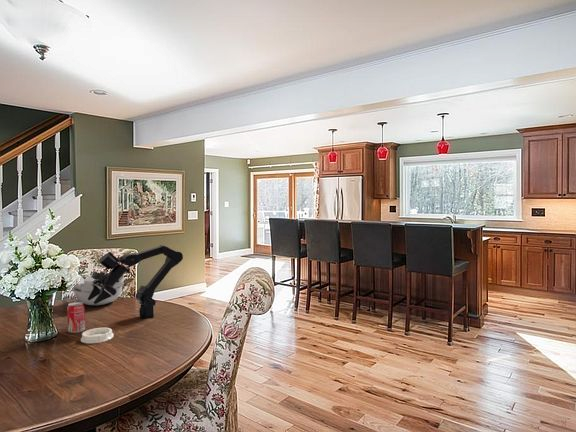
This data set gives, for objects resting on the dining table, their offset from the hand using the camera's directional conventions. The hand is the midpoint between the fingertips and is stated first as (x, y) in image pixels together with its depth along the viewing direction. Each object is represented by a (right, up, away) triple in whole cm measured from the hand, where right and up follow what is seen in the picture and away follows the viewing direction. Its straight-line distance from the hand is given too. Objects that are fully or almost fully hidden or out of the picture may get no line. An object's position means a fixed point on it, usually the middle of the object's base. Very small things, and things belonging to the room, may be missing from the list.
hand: (91, 301), depth 190 cm
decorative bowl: (-18, -11, +44) cm, 49 cm away
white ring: (+9, -13, -13) cm, 21 cm away
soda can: (-5, -13, -4) cm, 15 cm away
